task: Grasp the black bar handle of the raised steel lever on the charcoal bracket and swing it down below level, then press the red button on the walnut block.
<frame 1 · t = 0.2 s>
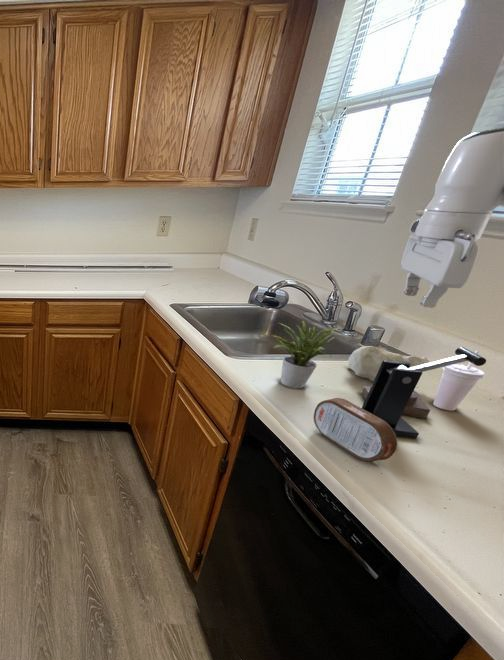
hand: (417, 300, 83), 26 cm above the countertop, tool pointing down, fingers open, 8 cm apart
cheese: (381, 379, 110), on the countertop
house plant: (293, 382, 108), on the countertop
bracket: (374, 424, 89), on the countertop
lever: (431, 366, 82), point 14 cm above the countertop, hinge at 28.0°
tin: (342, 447, 82), on the countertop
button: (399, 388, 95), point 4 cm above the countertop, slide at 0.1 cm
button block: (391, 405, 97), on the countertop
smoothie: (443, 407, 97), on the countertop
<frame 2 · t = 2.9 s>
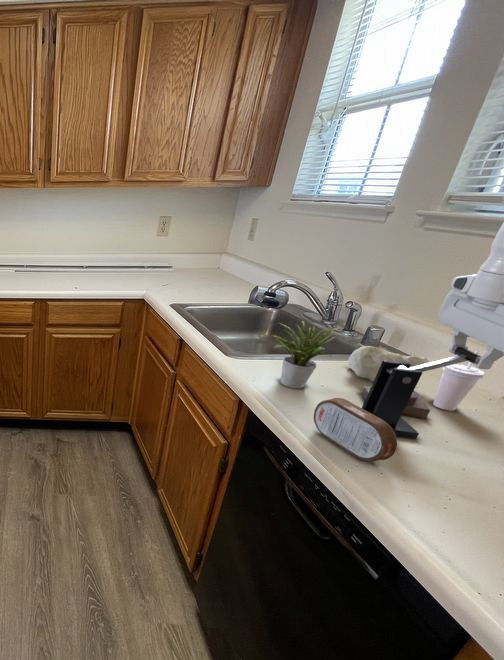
hand: (467, 360, 80), 16 cm above the countertop, tool pointing down, fingers closed on lever, 5 cm apart
lever: (431, 366, 82), point 14 cm above the countertop, hinge at 28.0°, touching gripper
everything else where it was.
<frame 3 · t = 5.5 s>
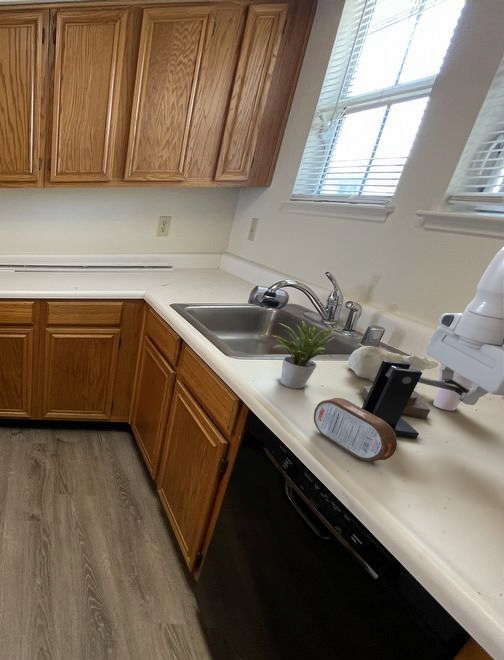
hand: (454, 394, 83), 9 cm above the countertop, tool pointing down, fingers closed on lever, 5 cm apart
lever: (427, 381, 83), point 11 cm above the countertop, hinge at -9.7°, touching gripper
everything else where it was.
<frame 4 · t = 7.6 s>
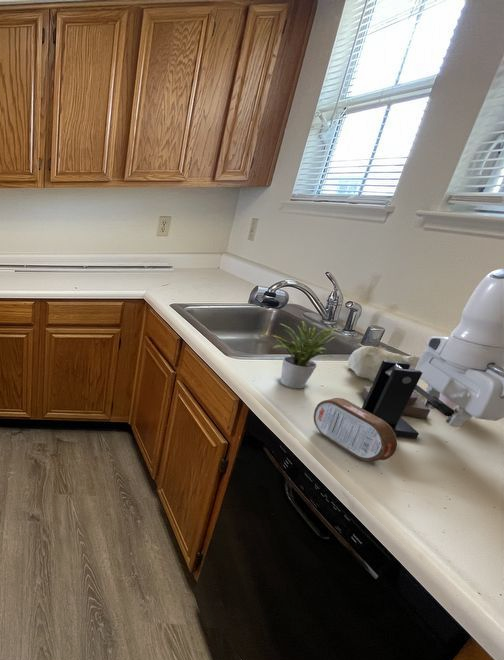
hand: (440, 416, 85), 4 cm above the countertop, tool pointing down, fingers open, 6 cm apart
lever: (418, 389, 84), point 9 cm above the countertop, hinge at -32.6°
everything else where it was.
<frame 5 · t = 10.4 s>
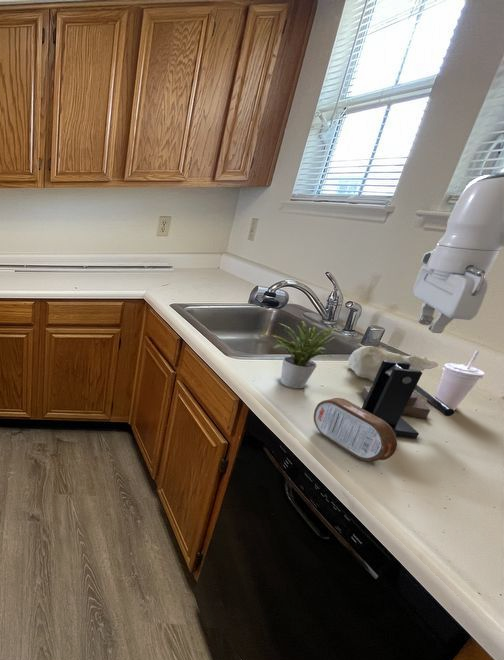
hand: (429, 327, 89), 19 cm above the countertop, tool pointing down, fingers open, 4 cm apart
nothing on the countertop moved.
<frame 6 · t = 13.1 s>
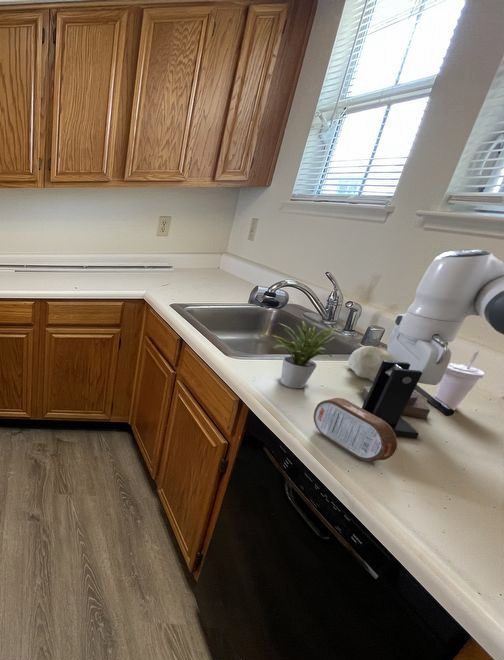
hand: (400, 385, 95), 5 cm above the countertop, tool pointing down, fingers closed, pressing on button
button: (399, 389, 95), point 4 cm above the countertop, slide at -0.1 cm, touching gripper
everything else where it was.
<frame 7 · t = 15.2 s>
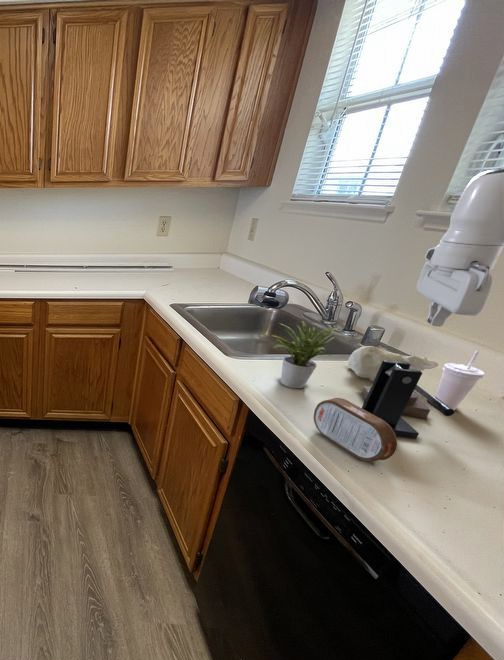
hand: (433, 324, 88), 20 cm above the countertop, tool pointing down, fingers closed
button: (399, 388, 95), point 4 cm above the countertop, slide at 0.1 cm
everything else where it was.
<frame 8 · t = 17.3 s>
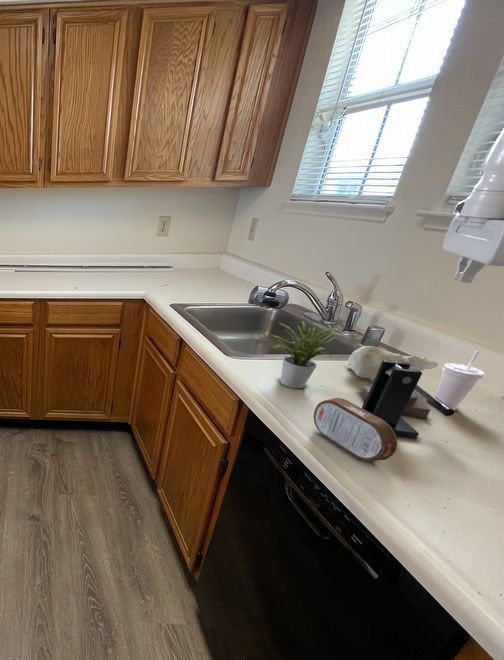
hand: (461, 281, 84), 29 cm above the countertop, tool pointing down, fingers closed
nothing on the countertop moved.
at the end: lever at -33° (first picture: +28°); button pushed in 1.0 cm at the most during the clip, back to where it started at the end; button slide at 0.1 cm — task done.
